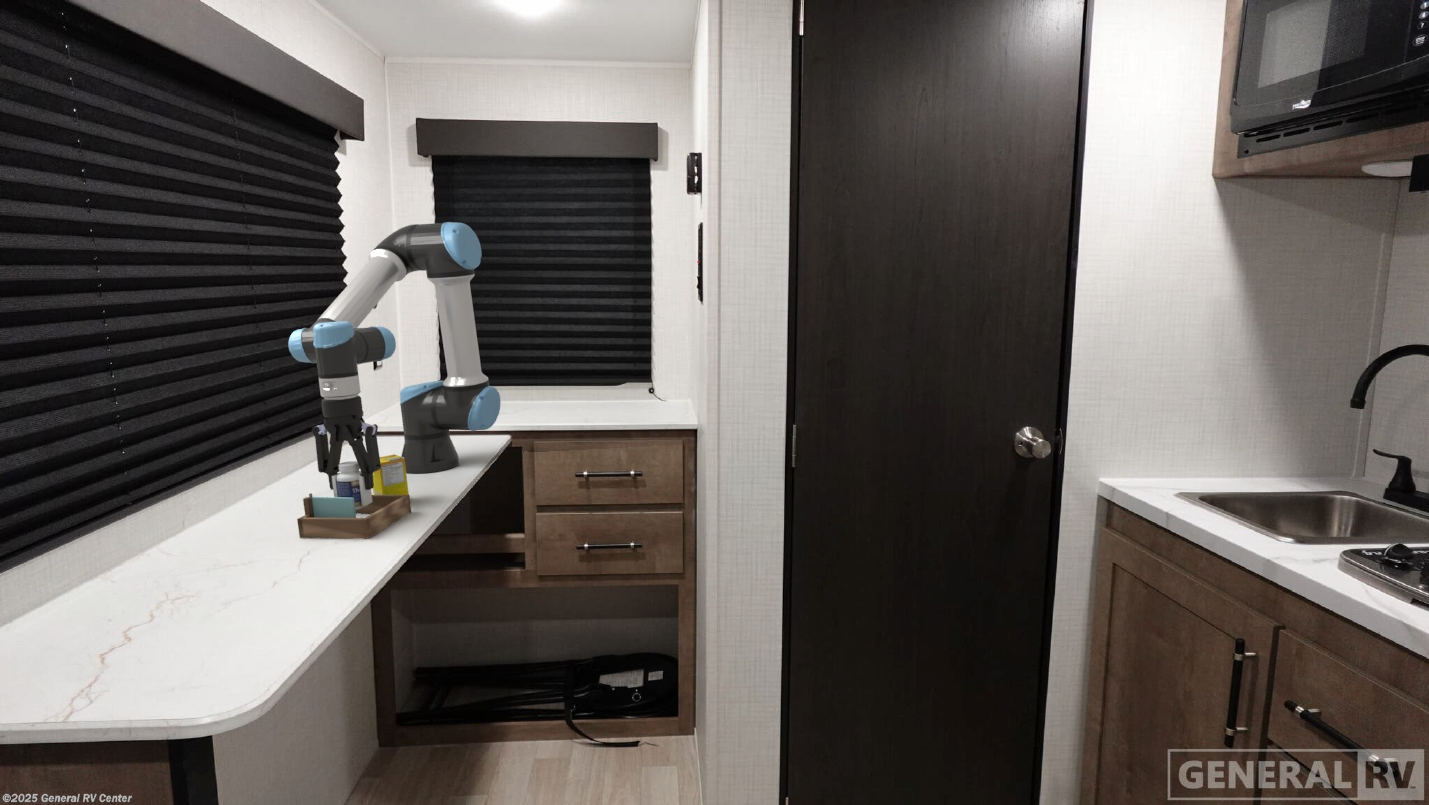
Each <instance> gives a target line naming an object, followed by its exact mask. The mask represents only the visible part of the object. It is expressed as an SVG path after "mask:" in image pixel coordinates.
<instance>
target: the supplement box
mask: <svg viewBox="0 0 1429 805" xmlns="http://www.w3.org/2000/svg"><path fill="white" fill-rule="evenodd" d="M380 463H381V469H379V470H377V471H375V472H373V482H374V487H373V488H372V491H373V495H410V494H409V486H408V479H407V478H408V477H407V472H406V467H405V459H404V457H401V455H399V454H398V455H397V454H390V455H385V456H380Z"/></svg>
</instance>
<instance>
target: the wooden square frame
mask: <svg viewBox="0 0 1429 805" xmlns="http://www.w3.org/2000/svg"><path fill="white" fill-rule="evenodd" d="M308 496H309V497H308ZM308 496H306V497H303V498H302V501H303V503H302V504H303V509H304V515H303V516H301V517H298V518H297V519H296V520H297V527H298V535H299V539H353V538H364V539H365V540H367V539H368V540H369V539H370V538H372V537H374V536H375V535H377V534H379V533H380V532H382V531H384V530H385V529H387V528H388V527H390V526H392V525H393V524H395V523H397V522H398V521H400V520H402V519H403V518H405V517H407V516H408V515H410V514H411V513H412V504H411V496H410V494H409V495H374V494H372V503H370V504H368V505H367V506H366V507H365V508H362V509H359V510H355V511H356V514H369V515H367V516H366V517H356V518H314V510H313V502H312V497H313V493H311V492H310V493H308Z"/></svg>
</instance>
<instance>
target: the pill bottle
mask: <svg viewBox="0 0 1429 805" xmlns="http://www.w3.org/2000/svg"><path fill="white" fill-rule="evenodd" d="M339 473H340V474H339V475H338V476H337V486H338V494H339V497H349V498H354V503H355V510H359V509H362V508H365V507H366V506H367V505H366V506H362V501H361V493H360V484H359V476H360V474H362V473H361V470H360V467H359V465H358V462H357V460H351V461H350V460H349V461H344V462H341V463H340V464H339Z"/></svg>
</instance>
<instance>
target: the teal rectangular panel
mask: <svg viewBox="0 0 1429 805" xmlns="http://www.w3.org/2000/svg"><path fill="white" fill-rule="evenodd" d="M312 502H313V510H314V518H357V513H356V511H355V503H354V498H349V497H334V496H312Z"/></svg>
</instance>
